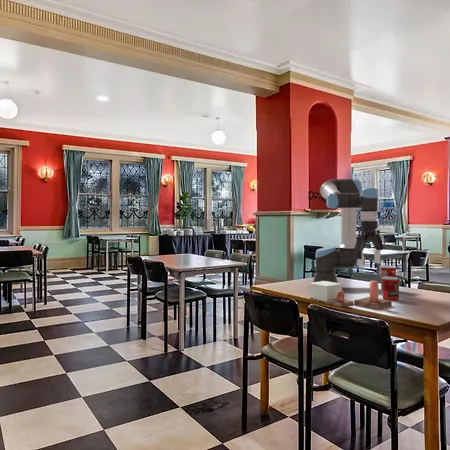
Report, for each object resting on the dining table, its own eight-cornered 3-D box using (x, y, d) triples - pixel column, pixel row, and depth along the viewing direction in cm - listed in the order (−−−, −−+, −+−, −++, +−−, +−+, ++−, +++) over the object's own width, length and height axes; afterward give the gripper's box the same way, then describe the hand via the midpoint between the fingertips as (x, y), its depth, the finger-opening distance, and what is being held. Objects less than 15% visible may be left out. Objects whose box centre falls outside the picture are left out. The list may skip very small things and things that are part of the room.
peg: (368, 306, 186) (368, 281, 185) (373, 305, 188) (372, 280, 187) (375, 308, 183) (375, 282, 182) (379, 307, 185) (379, 281, 184)
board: (326, 303, 193) (326, 290, 193) (338, 301, 199) (338, 288, 199) (341, 306, 186) (341, 293, 186) (353, 304, 191) (353, 290, 191)
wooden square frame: (354, 305, 189) (354, 299, 189) (369, 301, 196) (369, 296, 196) (376, 309, 180) (376, 304, 180) (391, 306, 187) (391, 300, 187)
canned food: (389, 301, 197) (389, 279, 197) (379, 298, 205) (379, 276, 205) (402, 300, 199) (402, 278, 199) (391, 297, 207) (391, 276, 207)
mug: (377, 289, 231) (377, 265, 231) (392, 288, 231) (392, 265, 230) (385, 293, 218) (385, 268, 218) (402, 293, 218) (402, 268, 218)
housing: (309, 298, 206) (309, 283, 206) (324, 295, 213) (324, 280, 212) (327, 302, 196) (326, 286, 196) (342, 299, 203) (341, 283, 203)
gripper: (360, 221, 180) (360, 268, 181) (391, 219, 194) (390, 262, 195) (346, 221, 186) (346, 266, 187) (377, 219, 200) (377, 261, 202)
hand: (369, 264), depth 191 cm, fingers open, 13 cm apart
